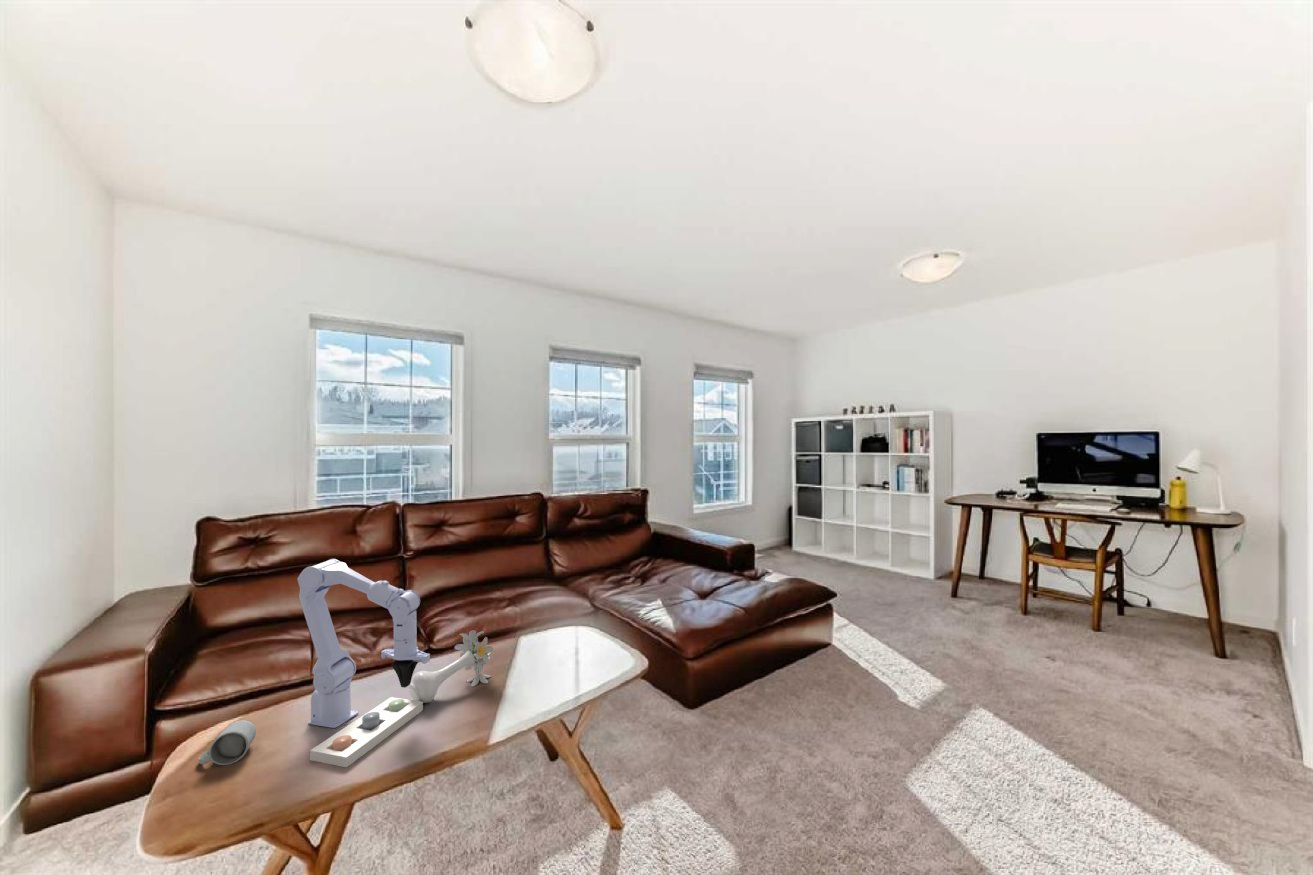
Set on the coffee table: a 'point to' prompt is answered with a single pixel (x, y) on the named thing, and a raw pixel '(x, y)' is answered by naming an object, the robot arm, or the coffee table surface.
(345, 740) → the terracotta button
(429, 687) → the flower vase
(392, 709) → the sage button
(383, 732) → the panel
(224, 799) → the coffee table surface
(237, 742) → the ceramic mug
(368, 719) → the slate button
